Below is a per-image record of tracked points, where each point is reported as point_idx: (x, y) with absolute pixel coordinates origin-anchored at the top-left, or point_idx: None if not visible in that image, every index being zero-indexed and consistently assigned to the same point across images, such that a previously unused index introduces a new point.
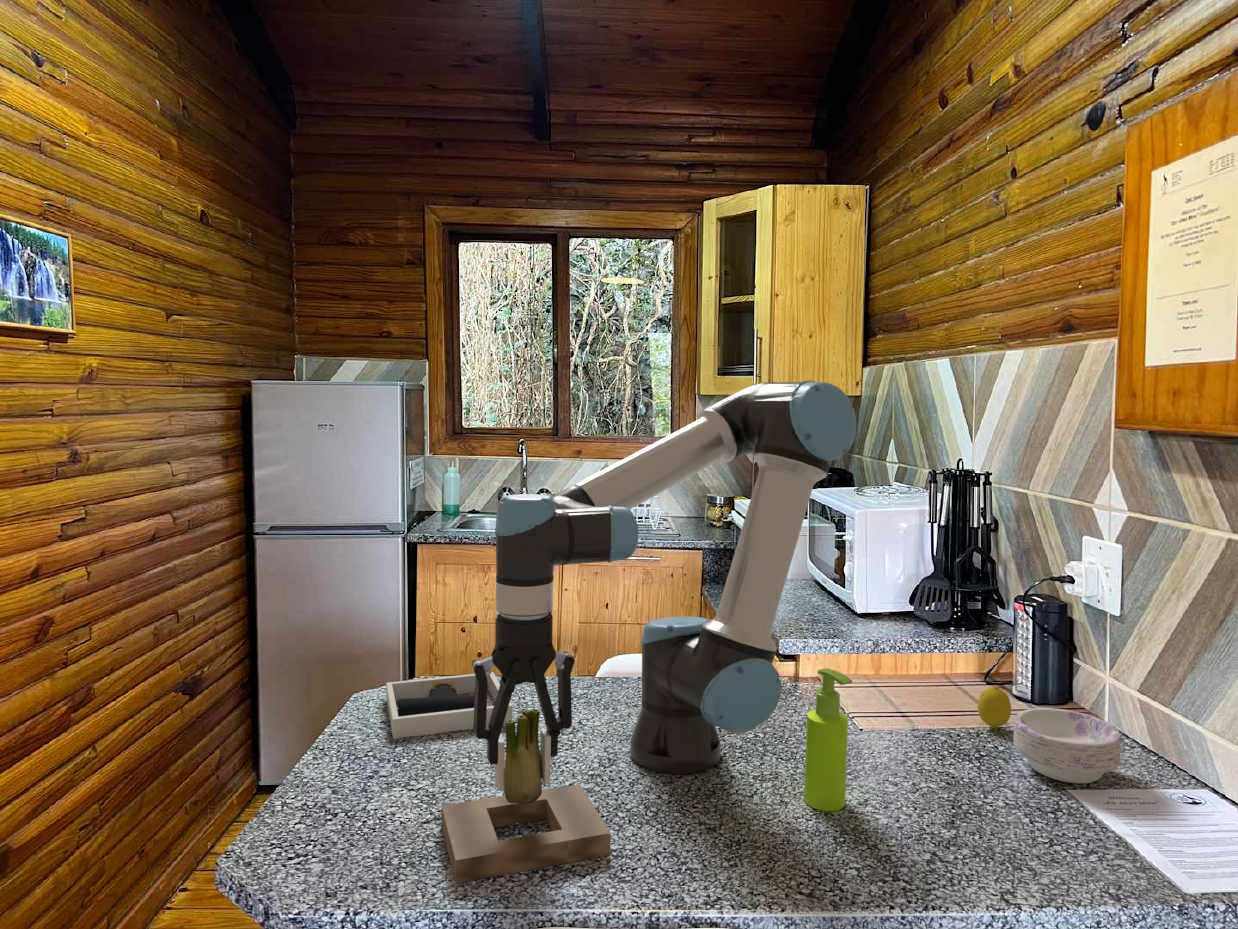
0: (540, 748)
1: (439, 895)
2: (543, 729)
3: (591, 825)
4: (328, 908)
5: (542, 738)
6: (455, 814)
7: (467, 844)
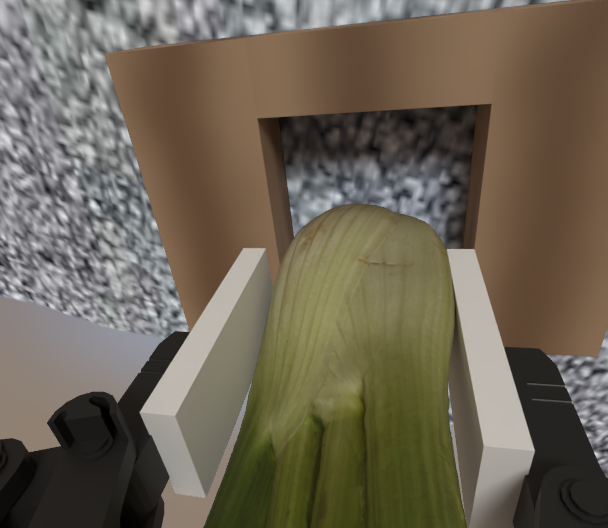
0: (463, 341)
1: (186, 320)
2: (506, 458)
3: (564, 311)
4: (15, 294)
5: (470, 446)
6: (160, 132)
7: (210, 289)
